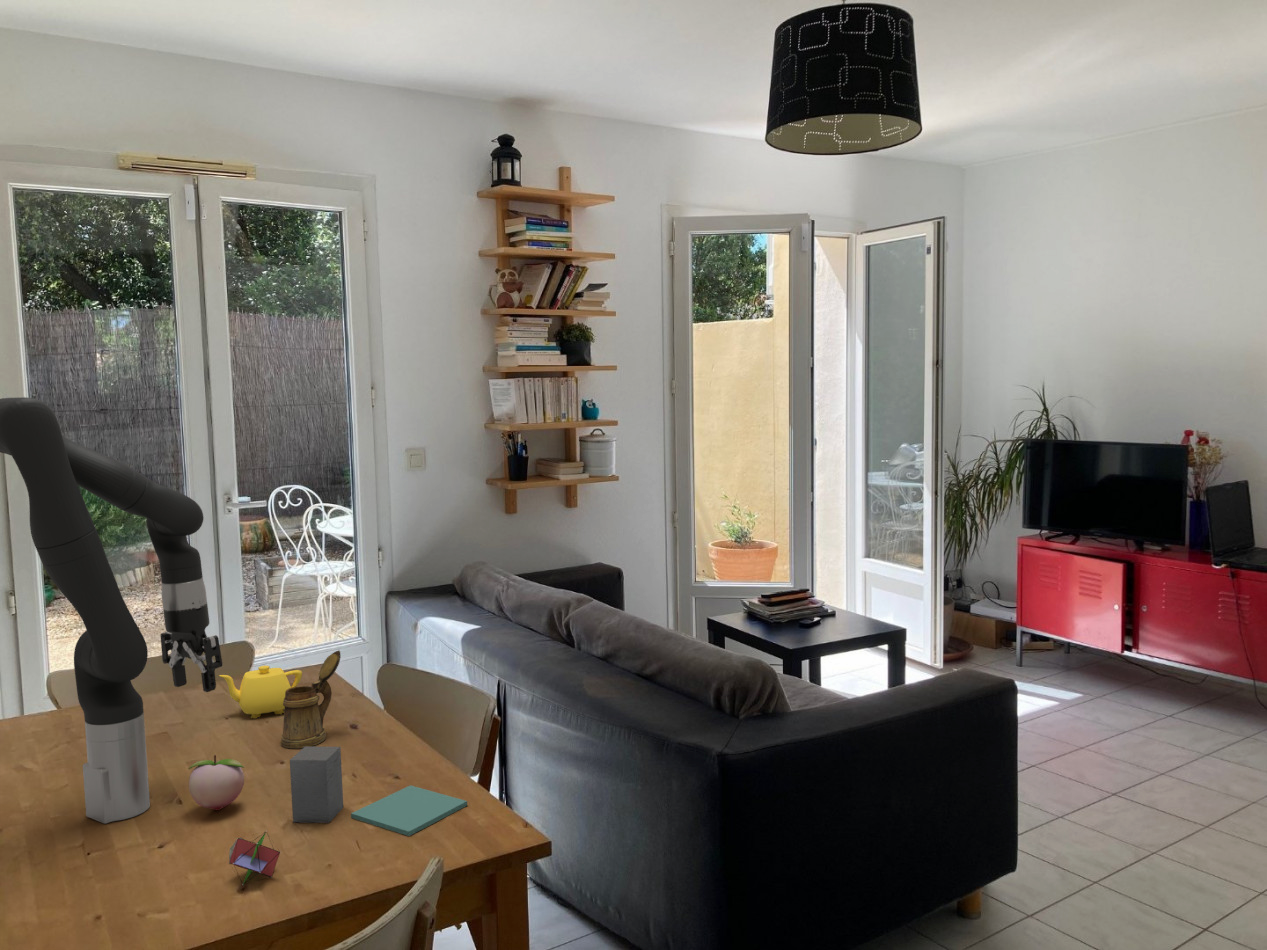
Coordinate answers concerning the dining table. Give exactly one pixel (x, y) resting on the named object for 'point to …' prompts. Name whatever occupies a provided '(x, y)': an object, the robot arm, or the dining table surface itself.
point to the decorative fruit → (216, 782)
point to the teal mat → (409, 810)
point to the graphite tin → (316, 784)
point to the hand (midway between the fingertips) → (195, 688)
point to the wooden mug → (308, 709)
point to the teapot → (262, 690)
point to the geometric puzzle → (253, 857)
